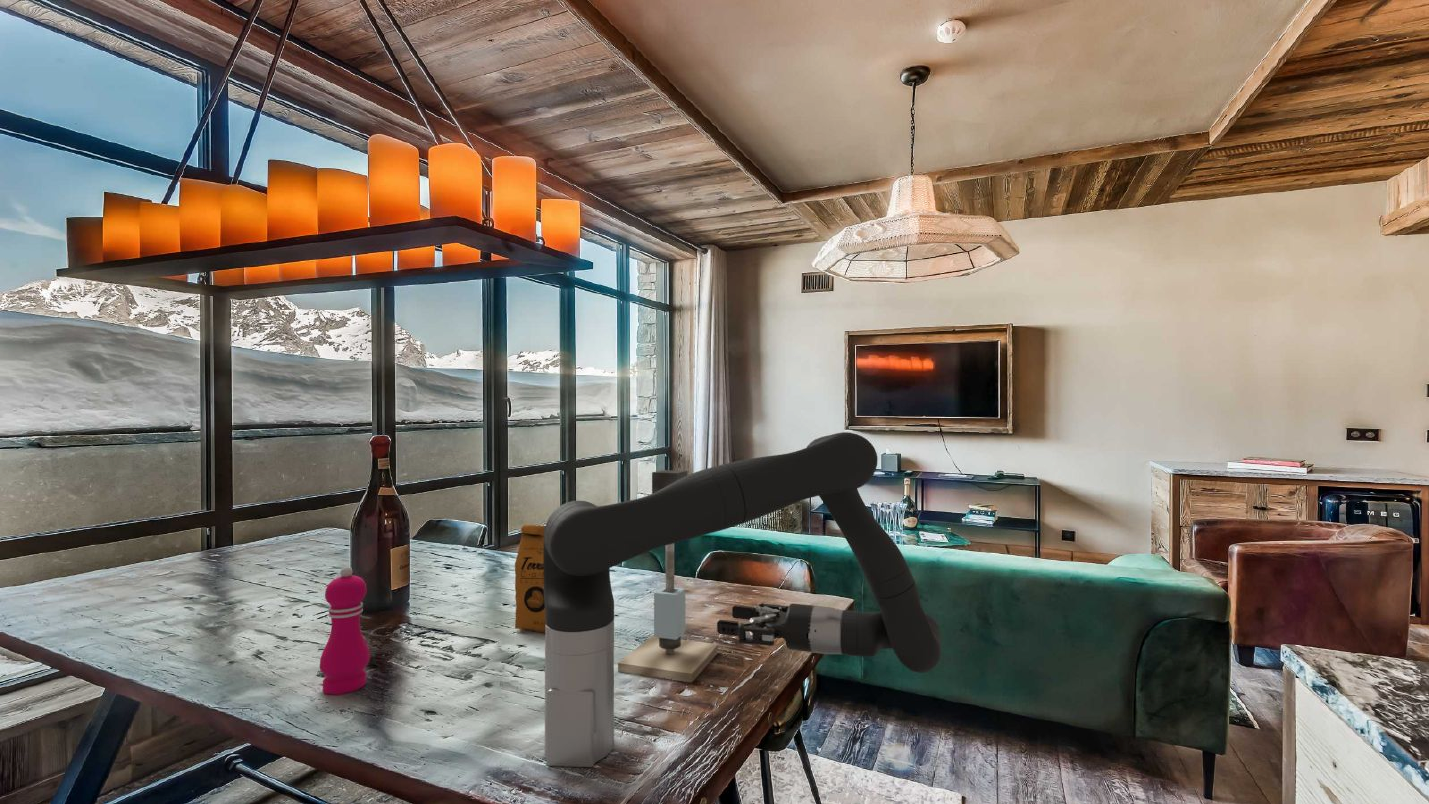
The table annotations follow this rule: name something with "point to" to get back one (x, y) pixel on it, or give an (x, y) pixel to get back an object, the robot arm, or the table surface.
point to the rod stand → (662, 653)
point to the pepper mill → (345, 636)
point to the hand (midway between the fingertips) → (725, 618)
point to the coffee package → (530, 580)
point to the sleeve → (669, 613)
